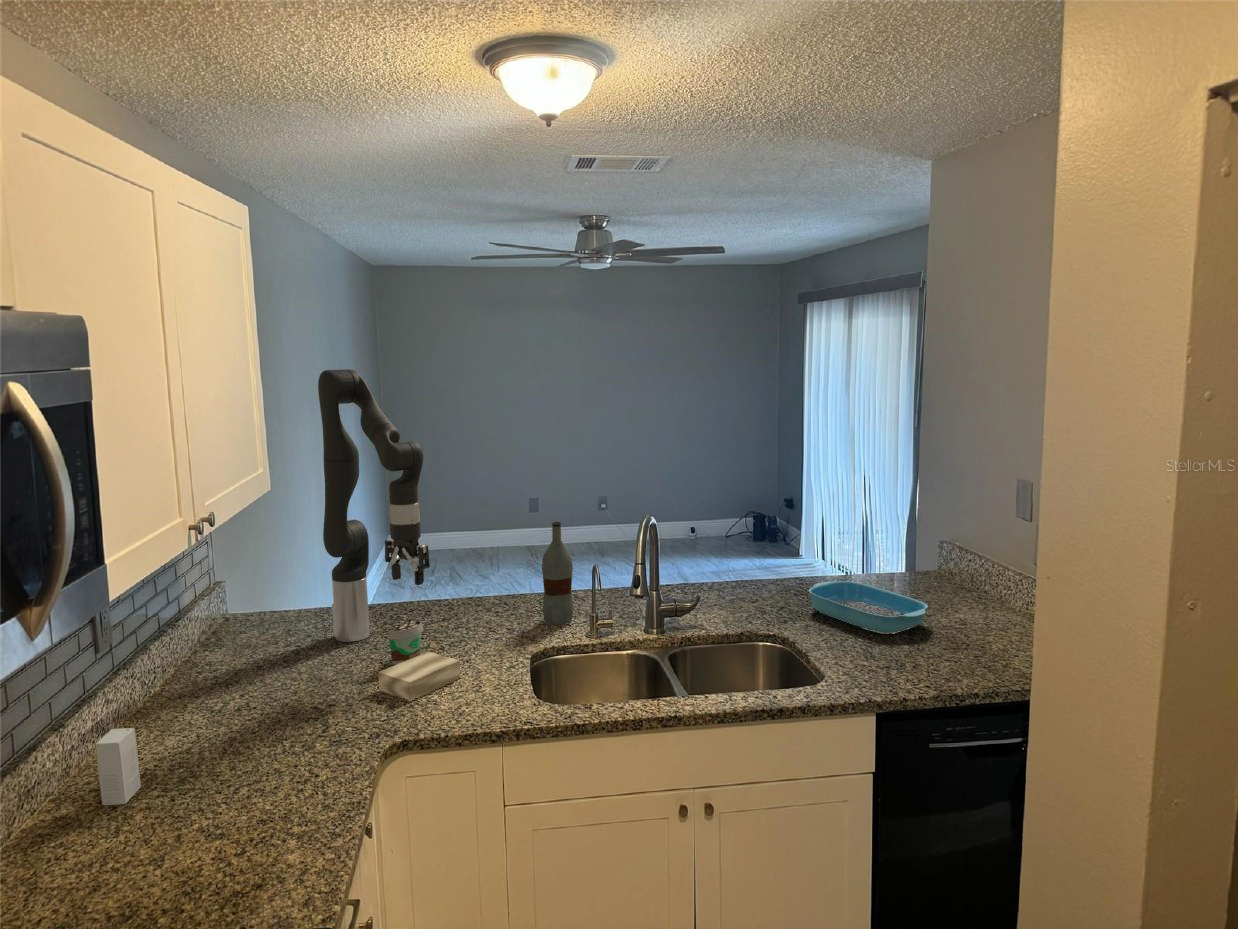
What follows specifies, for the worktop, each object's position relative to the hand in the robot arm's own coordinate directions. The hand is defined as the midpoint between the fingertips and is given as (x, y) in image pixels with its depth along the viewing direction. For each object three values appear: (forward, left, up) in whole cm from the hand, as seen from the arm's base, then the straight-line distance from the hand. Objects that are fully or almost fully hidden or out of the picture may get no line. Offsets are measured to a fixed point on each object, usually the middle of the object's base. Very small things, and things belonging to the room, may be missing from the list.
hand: (407, 581), depth 215 cm
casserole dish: (+87, +99, -22) cm, 134 cm away
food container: (0, 0, -22) cm, 22 cm away
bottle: (+12, +46, -22) cm, 52 cm away
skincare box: (+7, -75, -22) cm, 78 cm away
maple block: (+13, -9, -22) cm, 27 cm away
